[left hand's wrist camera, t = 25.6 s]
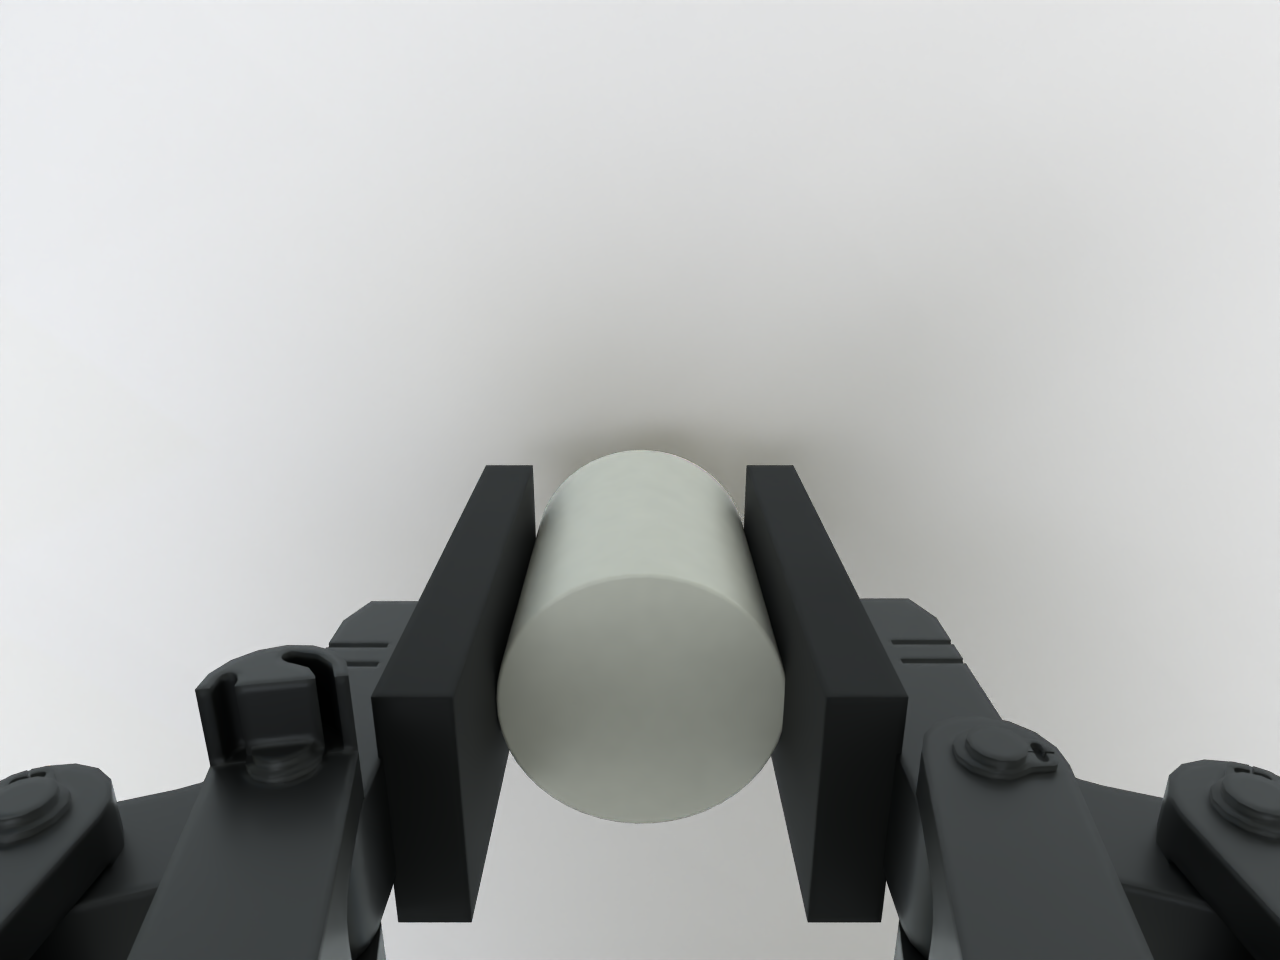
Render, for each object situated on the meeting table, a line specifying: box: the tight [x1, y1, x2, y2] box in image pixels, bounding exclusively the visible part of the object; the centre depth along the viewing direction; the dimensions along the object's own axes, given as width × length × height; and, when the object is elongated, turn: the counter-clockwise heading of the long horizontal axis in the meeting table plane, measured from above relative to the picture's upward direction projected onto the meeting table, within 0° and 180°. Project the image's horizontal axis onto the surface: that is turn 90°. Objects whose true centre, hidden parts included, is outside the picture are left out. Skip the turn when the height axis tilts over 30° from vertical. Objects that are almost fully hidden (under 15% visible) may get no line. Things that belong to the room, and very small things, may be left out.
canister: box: [496, 450, 785, 823], centre depth 13 cm, size 4×4×5 cm
